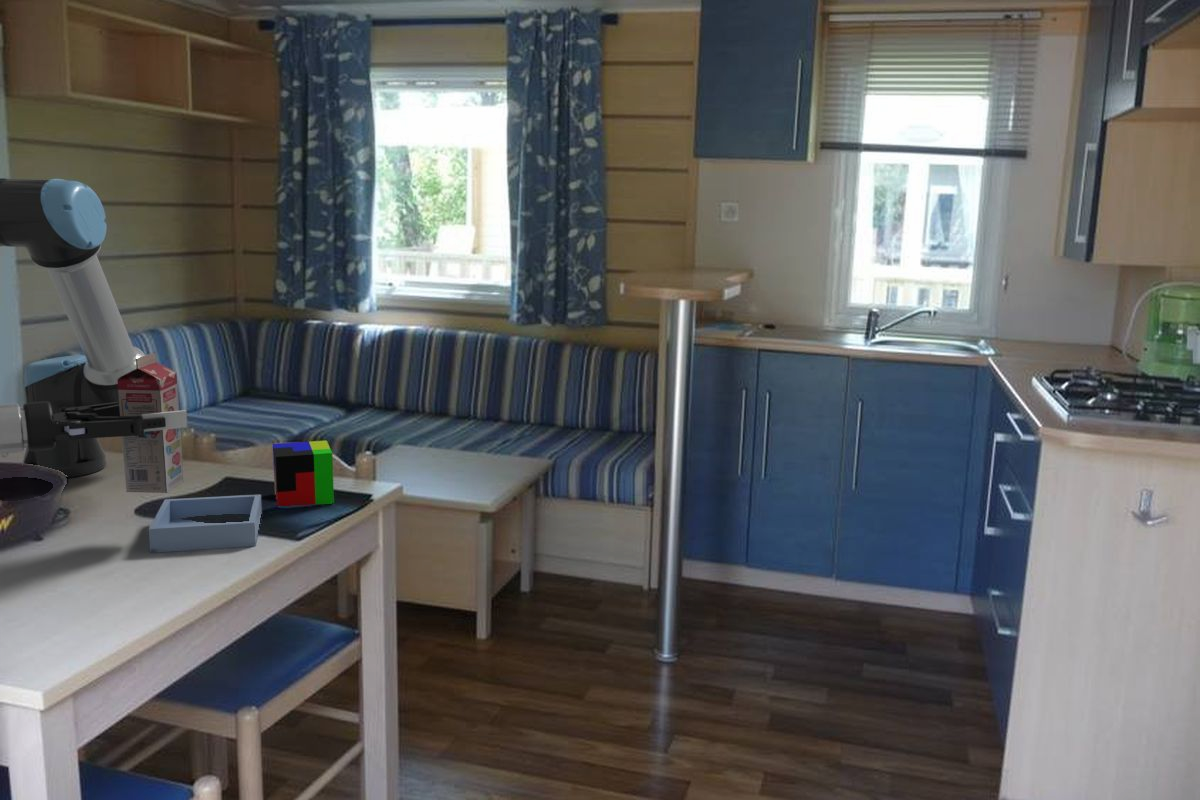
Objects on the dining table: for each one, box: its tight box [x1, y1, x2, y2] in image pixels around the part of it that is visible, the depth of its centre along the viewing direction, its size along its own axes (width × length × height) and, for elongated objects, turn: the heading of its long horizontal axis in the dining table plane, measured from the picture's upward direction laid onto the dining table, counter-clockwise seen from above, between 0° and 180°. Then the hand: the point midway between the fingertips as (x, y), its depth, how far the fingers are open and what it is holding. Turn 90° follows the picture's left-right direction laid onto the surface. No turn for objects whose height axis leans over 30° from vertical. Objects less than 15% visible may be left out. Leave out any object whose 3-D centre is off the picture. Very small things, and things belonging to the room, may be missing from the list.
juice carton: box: [117, 351, 184, 494], centre depth 162 cm, size 7×7×22 cm
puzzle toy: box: [272, 440, 335, 507], centre depth 188 cm, size 10×10×10 cm
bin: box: [148, 494, 263, 554], centre depth 169 cm, size 16×16×4 cm
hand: (180, 412), depth 164 cm, fingers closed on juice carton, 9 cm apart
